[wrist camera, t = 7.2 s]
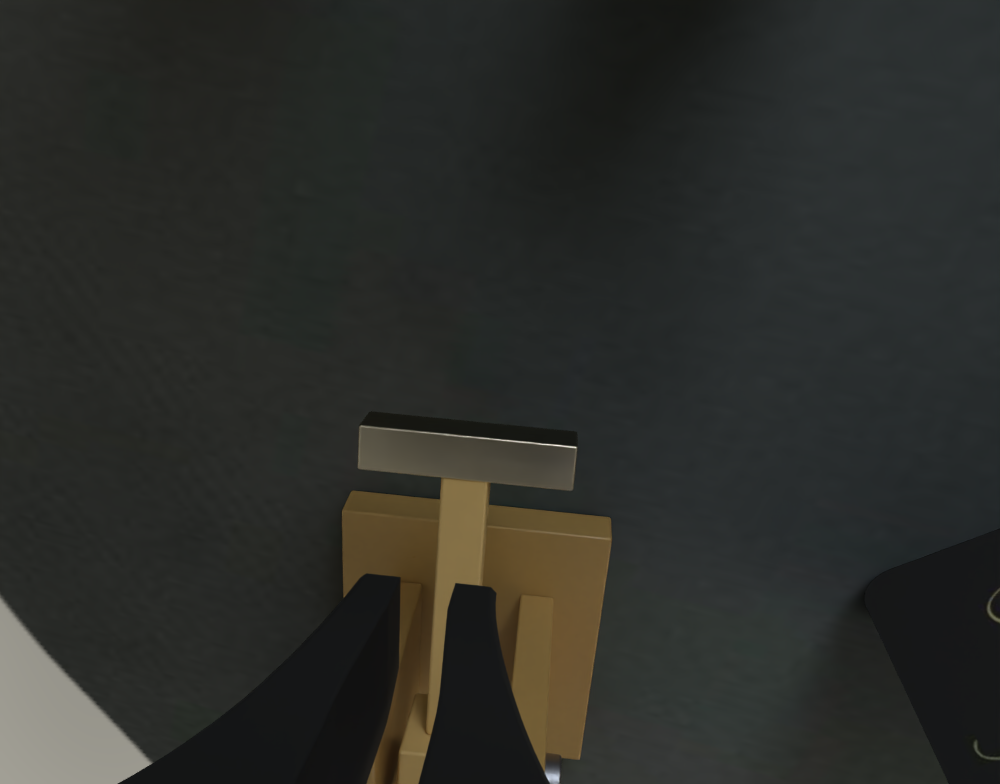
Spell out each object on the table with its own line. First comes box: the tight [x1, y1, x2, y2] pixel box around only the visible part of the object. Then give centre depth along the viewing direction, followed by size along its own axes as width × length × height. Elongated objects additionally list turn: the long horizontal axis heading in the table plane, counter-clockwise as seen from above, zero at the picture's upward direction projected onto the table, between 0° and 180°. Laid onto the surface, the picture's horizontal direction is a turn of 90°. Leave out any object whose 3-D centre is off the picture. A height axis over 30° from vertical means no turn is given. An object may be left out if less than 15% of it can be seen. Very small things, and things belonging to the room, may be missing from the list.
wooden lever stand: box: [342, 491, 612, 784], centre depth 24 cm, size 9×8×8 cm
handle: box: [358, 411, 578, 784], centre depth 21 cm, size 11×5×2 cm, turn 175°
